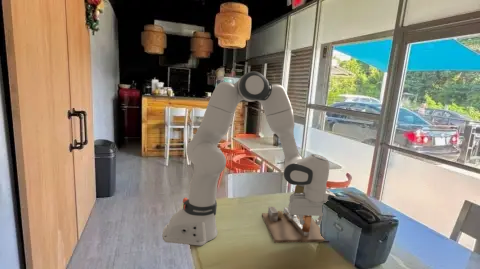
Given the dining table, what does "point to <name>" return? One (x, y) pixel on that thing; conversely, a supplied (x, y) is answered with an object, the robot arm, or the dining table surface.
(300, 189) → the squeeze bottle
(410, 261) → the dining table surface
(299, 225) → the lever
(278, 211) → the tan wooden ball
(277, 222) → the walnut board
